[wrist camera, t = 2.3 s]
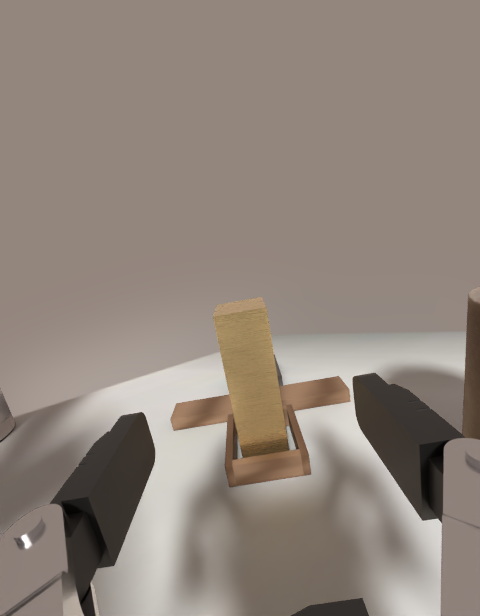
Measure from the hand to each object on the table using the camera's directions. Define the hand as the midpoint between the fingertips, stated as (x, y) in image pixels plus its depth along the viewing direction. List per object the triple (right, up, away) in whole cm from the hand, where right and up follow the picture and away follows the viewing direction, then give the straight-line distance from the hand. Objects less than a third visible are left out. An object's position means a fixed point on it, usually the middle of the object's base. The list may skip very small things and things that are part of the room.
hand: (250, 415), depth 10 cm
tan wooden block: (+2, -9, +15) cm, 17 cm away
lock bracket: (+2, -8, +21) cm, 22 cm away
